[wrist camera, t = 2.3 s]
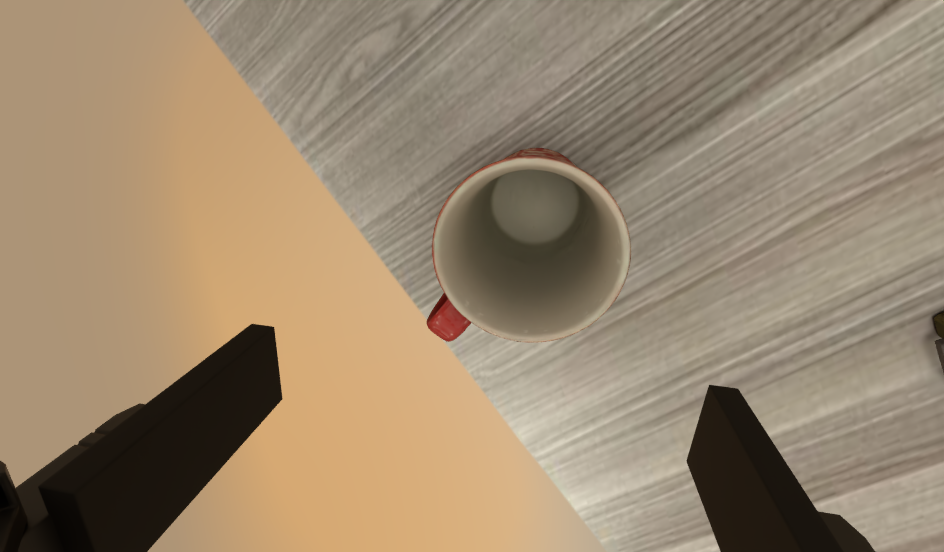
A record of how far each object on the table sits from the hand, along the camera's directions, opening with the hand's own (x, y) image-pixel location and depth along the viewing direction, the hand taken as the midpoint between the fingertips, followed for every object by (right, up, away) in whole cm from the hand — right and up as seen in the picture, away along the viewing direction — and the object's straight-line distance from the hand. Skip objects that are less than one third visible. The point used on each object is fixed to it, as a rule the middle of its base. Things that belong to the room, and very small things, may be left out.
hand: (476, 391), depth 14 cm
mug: (+3, +8, +20) cm, 22 cm away
